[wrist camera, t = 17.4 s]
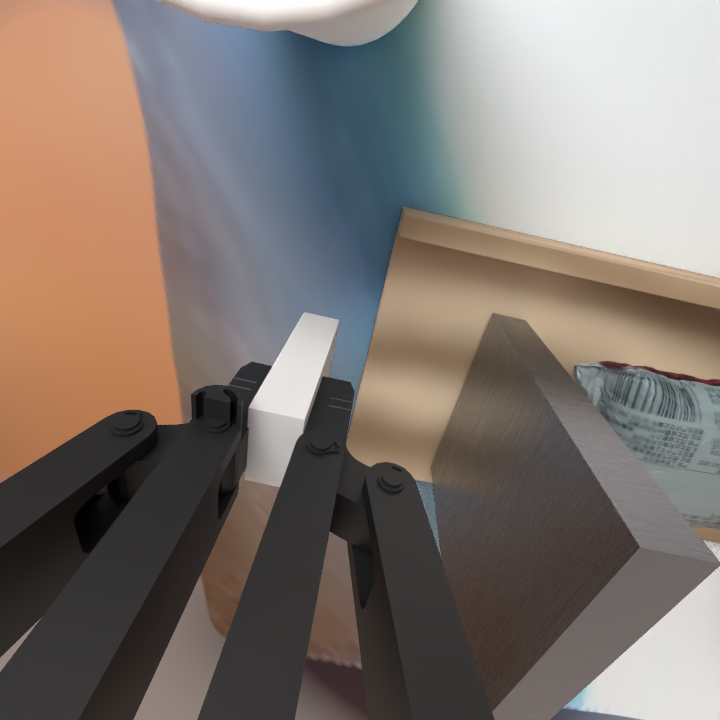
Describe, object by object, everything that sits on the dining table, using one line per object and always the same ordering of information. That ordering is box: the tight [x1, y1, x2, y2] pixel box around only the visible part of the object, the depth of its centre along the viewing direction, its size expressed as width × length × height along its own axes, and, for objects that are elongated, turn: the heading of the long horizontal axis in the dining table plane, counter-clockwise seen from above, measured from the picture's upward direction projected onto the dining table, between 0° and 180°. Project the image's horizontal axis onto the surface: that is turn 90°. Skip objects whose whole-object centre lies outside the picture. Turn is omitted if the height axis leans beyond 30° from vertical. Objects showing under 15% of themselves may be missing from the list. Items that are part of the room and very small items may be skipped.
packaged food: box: [573, 361, 720, 530], centre depth 18 cm, size 9×12×5 cm
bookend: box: [431, 313, 720, 720], centre depth 15 cm, size 10×2×12 cm, turn 168°
